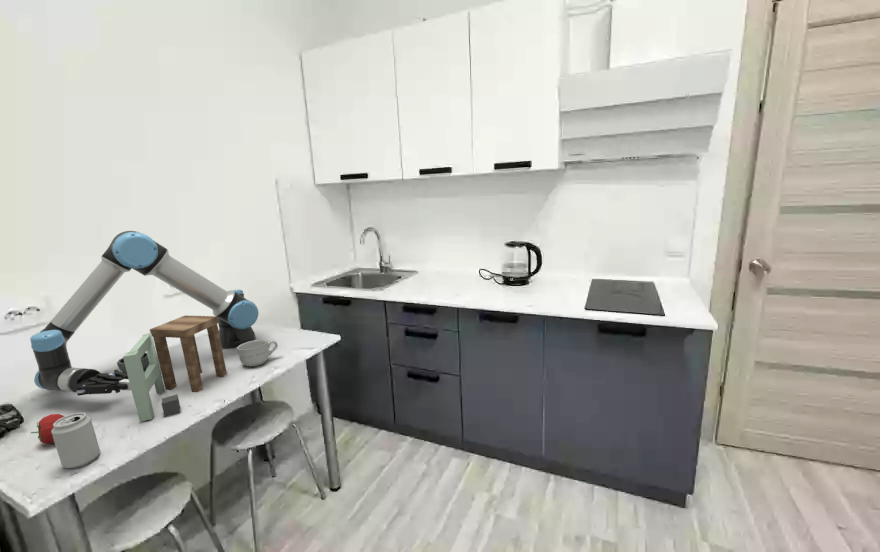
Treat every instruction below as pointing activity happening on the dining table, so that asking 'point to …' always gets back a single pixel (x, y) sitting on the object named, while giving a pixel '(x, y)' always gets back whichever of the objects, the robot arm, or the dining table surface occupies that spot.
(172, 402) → the block
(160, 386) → the frame
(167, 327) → the stool
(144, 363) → the mortar and pestle
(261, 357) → the teacup
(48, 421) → the tomato
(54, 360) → the robot arm
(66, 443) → the can
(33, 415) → the dining table surface
